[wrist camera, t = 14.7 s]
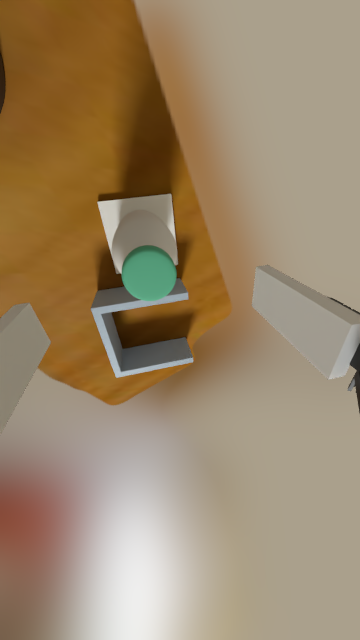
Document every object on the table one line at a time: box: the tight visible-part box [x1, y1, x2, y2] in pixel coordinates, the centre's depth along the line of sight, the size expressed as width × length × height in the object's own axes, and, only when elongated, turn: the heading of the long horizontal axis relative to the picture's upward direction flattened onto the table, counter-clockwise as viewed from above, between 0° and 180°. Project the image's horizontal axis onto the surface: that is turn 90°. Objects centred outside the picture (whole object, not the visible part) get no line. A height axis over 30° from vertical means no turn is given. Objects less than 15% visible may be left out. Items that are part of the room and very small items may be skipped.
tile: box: [97, 194, 178, 274], centre depth 34 cm, size 11×11×1 cm
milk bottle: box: [112, 210, 177, 301], centre depth 25 cm, size 8×8×20 cm
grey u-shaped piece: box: [91, 278, 193, 378], centre depth 40 cm, size 15×15×7 cm
